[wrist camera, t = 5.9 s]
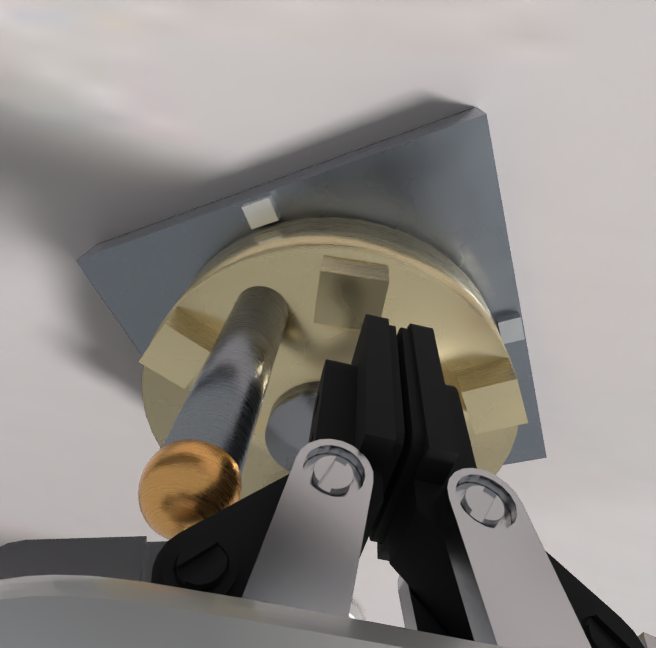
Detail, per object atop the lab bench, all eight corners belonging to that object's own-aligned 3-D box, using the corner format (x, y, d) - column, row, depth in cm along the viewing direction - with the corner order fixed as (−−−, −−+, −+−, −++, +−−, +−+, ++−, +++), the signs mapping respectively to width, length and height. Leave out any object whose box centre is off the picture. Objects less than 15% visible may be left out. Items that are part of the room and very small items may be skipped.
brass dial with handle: (527, 446, 20) (646, 764, 11) (262, 500, 23) (197, 775, 15) (450, 156, 14) (582, 362, 5) (107, 287, 17) (-157, 541, 9)
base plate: (253, 484, 26) (245, 514, 24) (96, 244, 18) (70, 265, 17) (536, 433, 22) (549, 464, 20) (476, 107, 15) (489, 115, 13)
